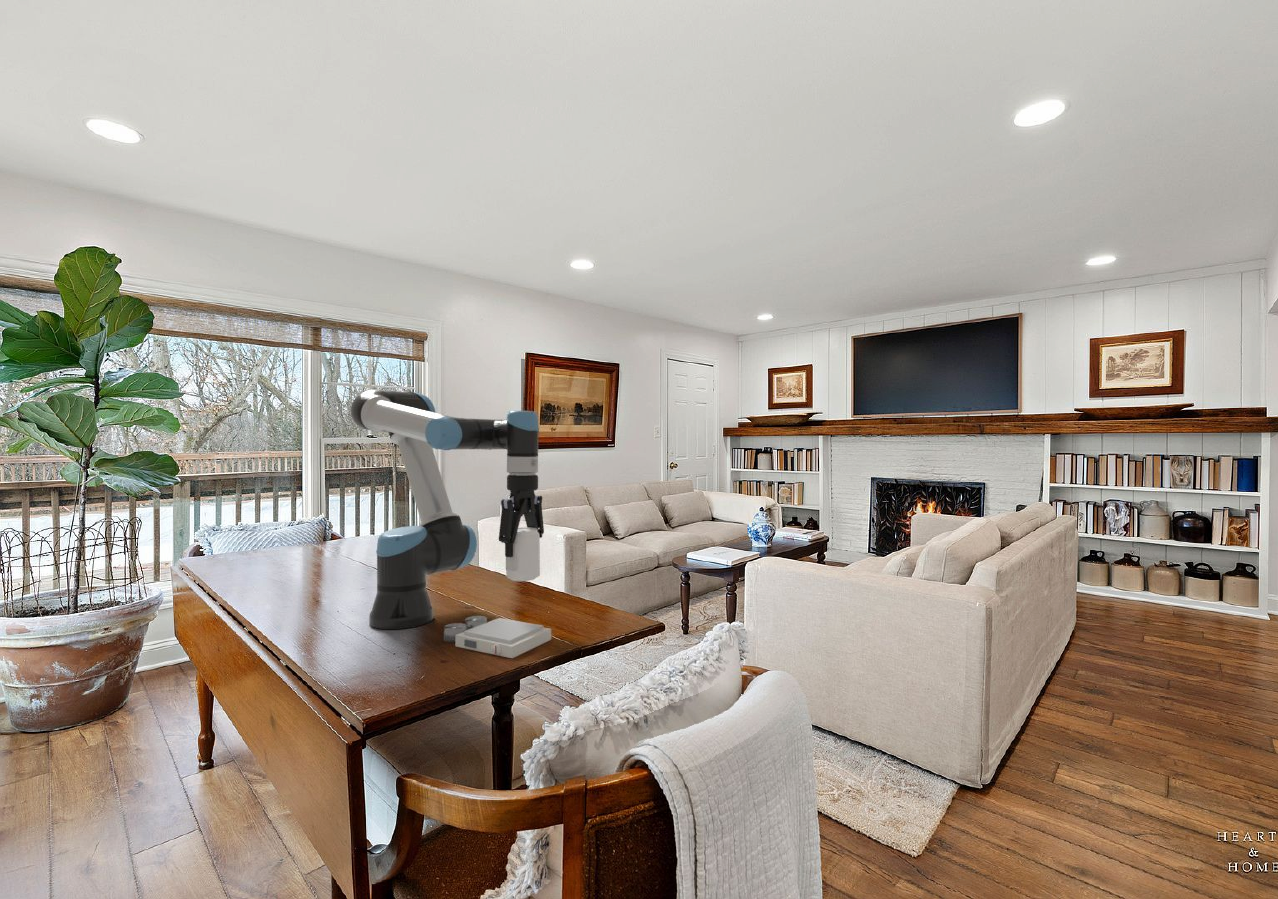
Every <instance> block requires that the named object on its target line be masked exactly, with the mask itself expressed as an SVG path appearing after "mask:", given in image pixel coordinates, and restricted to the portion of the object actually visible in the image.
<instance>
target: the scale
mask: <svg viewBox="0 0 1278 899" xmlns="http://www.w3.org/2000/svg"><path fill="white" fill-rule="evenodd" d="M551 640H552V628H550V627H544V625H542V624H537V623H532V622H524V621H518V620H515V619H514V620H513V619H508V618H503V617H499V618H498V617H497V618H495V619H493V620H490V621H487V623H485V624H482V625H479V626H477V627H474V628H471V629H469V630H466V631H464V632H462V633H460V634H457V635H455V642H454V643H455V647H457V648H462V649H466V650H470V651H475V652H481V653H485V654H489V655H493V656H494V655H495V656H500V657H505V658H509V659H514V658H516V657H518V656H520V655H522V654H525V653H526V652H528V651H531V650H532V649H534V648H537V647H539V646H541V645H544V644H545V643H547V642H549V641H551Z"/></svg>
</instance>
